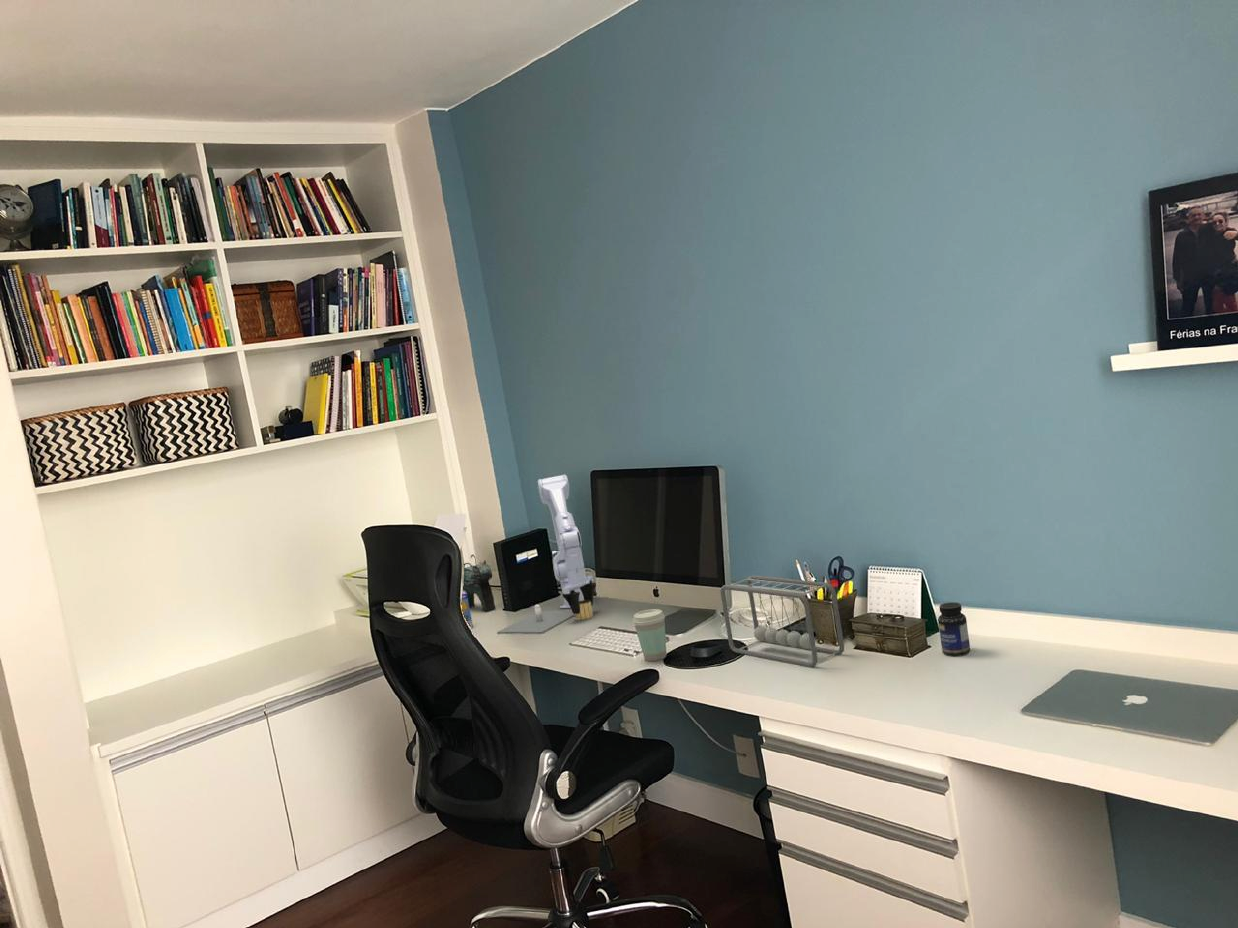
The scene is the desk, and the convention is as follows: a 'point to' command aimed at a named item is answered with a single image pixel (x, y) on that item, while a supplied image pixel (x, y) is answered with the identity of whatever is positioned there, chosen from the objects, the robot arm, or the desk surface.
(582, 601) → the wooden link ring
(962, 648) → the pill bottle
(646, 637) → the coffee cup
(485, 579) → the toy ray gun
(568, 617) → the grey square plate
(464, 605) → the ink cartridge box
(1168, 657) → the desk surface
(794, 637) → the newton's cradle
